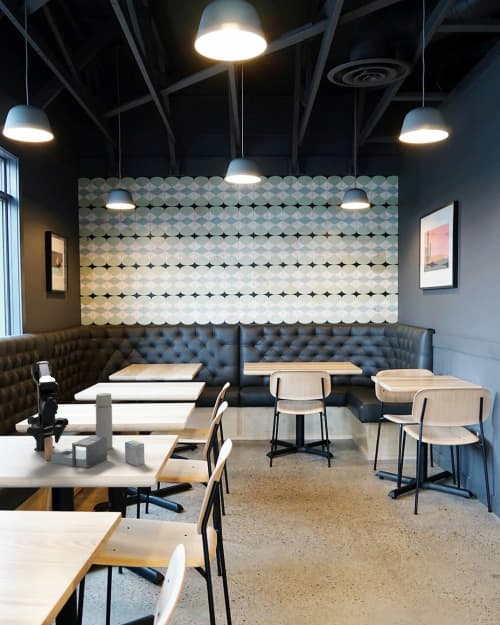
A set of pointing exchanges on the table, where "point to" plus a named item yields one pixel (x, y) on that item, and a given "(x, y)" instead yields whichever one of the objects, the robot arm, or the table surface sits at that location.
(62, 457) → the socket plate
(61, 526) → the table surface
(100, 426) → the water bottle
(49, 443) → the peg
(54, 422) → the robot arm
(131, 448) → the medicine box
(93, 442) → the grey open-top bin
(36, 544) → the table surface
